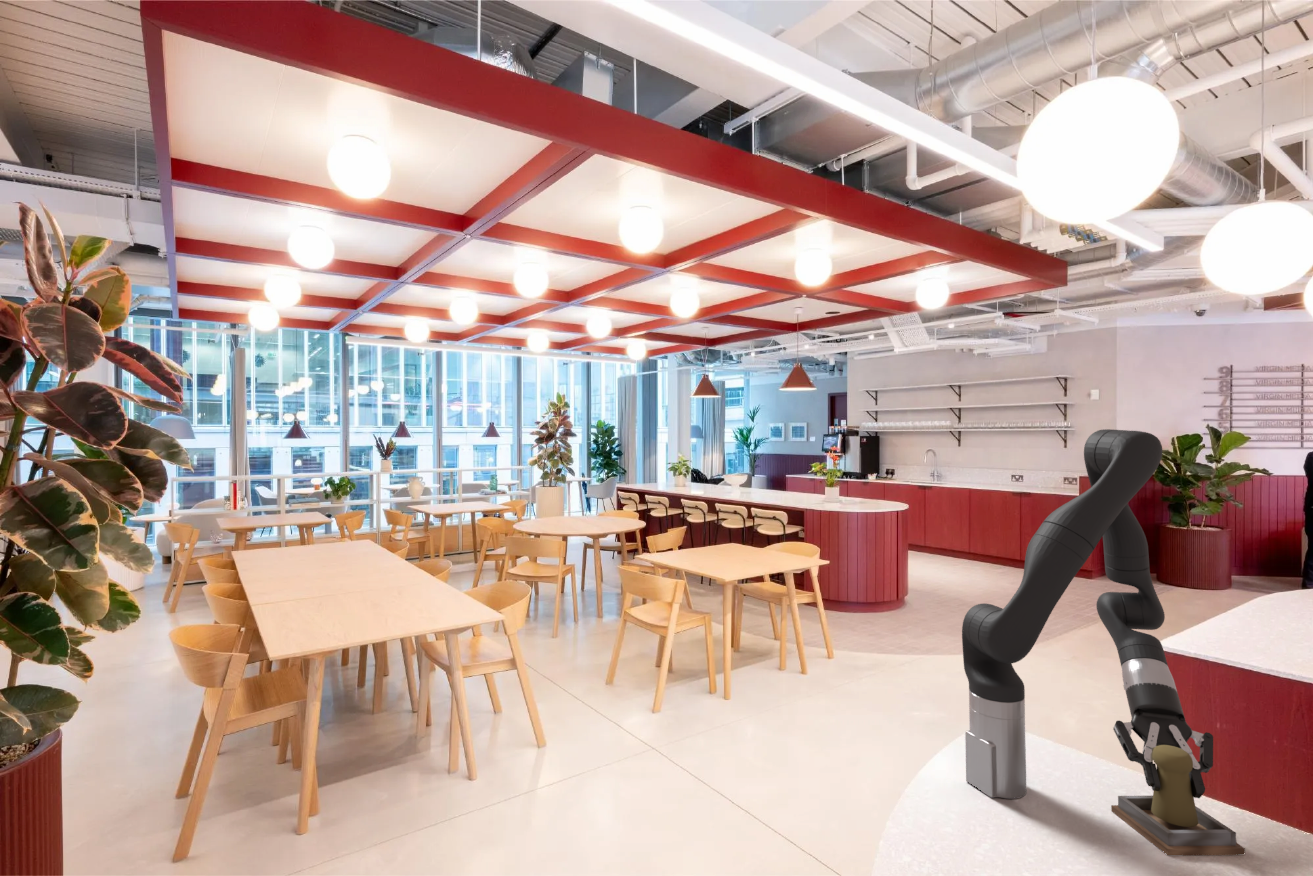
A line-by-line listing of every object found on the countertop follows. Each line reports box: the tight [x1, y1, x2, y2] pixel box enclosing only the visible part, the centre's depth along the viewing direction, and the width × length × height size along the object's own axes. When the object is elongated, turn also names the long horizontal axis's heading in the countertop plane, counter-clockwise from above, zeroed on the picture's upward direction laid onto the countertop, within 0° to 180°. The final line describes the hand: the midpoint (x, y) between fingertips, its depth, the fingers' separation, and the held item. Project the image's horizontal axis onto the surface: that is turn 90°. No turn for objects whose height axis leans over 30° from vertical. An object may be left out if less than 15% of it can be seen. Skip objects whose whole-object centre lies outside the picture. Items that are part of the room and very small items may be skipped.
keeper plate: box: [1110, 795, 1246, 856], centre depth 103 cm, size 12×12×3 cm
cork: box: [1151, 745, 1198, 827], centre depth 104 cm, size 6×6×11 cm
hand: (1177, 792), depth 102 cm, fingers closed on cork, 4 cm apart
